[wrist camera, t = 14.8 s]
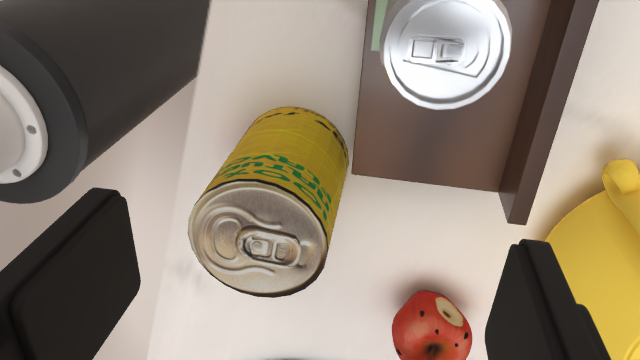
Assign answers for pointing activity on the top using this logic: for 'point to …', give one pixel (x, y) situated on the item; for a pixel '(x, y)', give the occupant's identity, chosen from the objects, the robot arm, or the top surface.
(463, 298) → the top surface
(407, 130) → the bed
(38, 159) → the robot arm
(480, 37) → the beer can
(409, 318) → the apple
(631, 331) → the teapot
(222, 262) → the beverage can
